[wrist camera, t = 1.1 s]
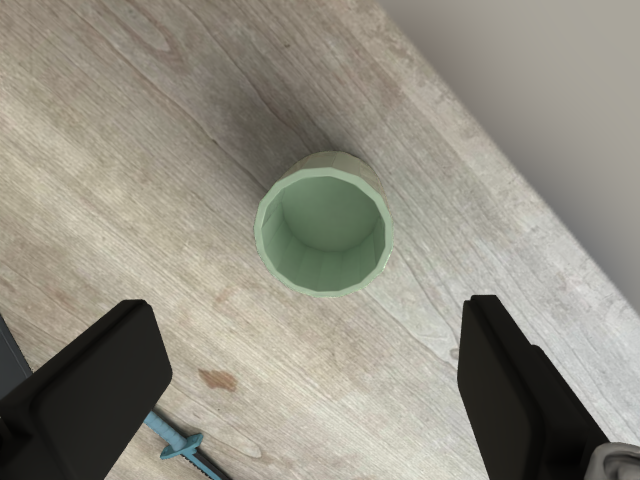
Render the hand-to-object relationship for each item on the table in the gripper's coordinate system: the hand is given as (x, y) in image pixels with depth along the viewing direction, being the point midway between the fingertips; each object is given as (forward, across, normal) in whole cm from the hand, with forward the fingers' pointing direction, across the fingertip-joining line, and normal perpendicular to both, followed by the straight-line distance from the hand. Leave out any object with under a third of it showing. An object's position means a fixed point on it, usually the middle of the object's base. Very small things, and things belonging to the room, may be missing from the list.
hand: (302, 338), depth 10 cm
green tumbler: (+12, 0, 0) cm, 12 cm away
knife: (+13, +15, +24) cm, 32 cm away
